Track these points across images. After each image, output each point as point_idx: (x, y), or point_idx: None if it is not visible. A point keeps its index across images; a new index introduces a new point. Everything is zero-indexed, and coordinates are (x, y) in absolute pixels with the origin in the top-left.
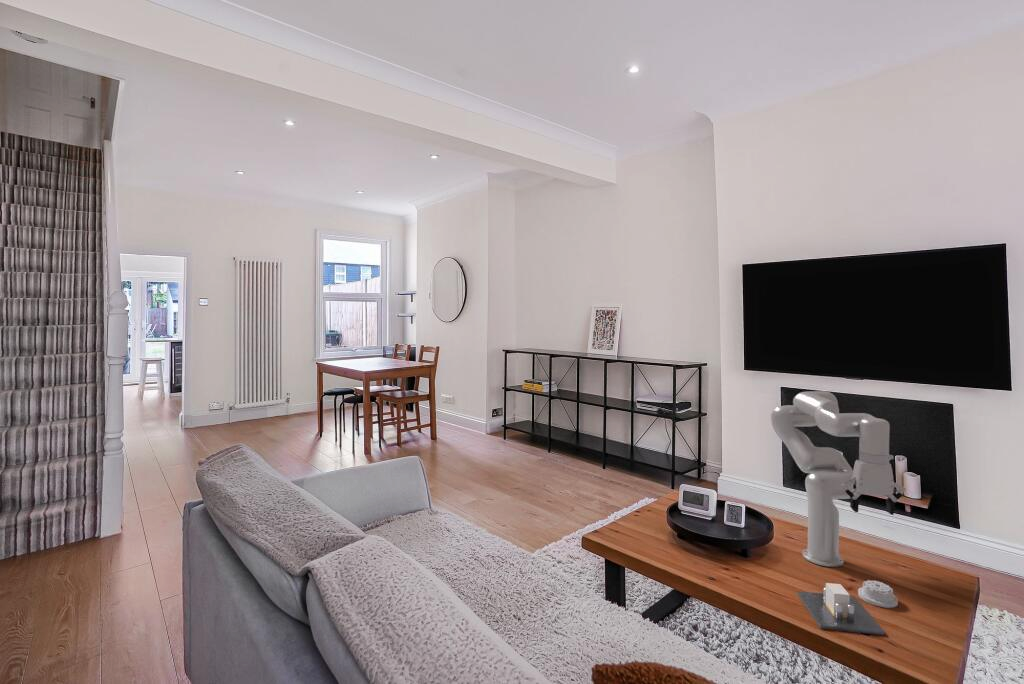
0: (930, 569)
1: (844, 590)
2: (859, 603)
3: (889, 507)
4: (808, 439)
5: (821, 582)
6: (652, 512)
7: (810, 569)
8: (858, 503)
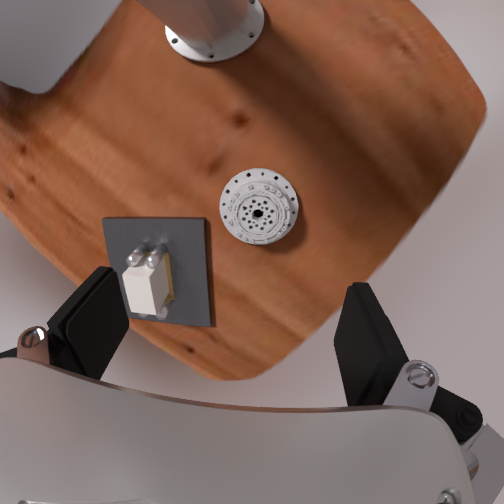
0: (447, 69)
1: (150, 300)
2: (202, 248)
3: (346, 358)
4: None
5: (160, 150)
6: None
7: (158, 87)
8: (105, 368)
